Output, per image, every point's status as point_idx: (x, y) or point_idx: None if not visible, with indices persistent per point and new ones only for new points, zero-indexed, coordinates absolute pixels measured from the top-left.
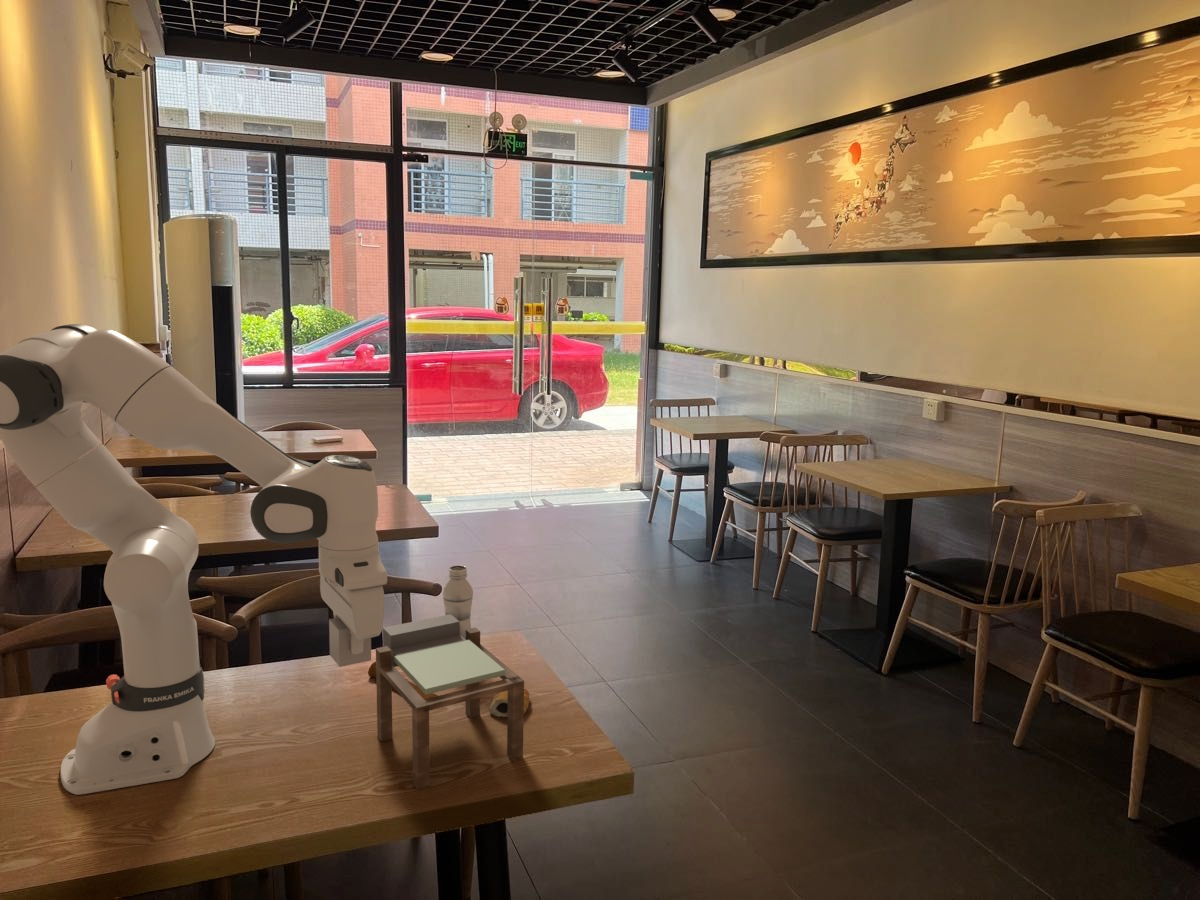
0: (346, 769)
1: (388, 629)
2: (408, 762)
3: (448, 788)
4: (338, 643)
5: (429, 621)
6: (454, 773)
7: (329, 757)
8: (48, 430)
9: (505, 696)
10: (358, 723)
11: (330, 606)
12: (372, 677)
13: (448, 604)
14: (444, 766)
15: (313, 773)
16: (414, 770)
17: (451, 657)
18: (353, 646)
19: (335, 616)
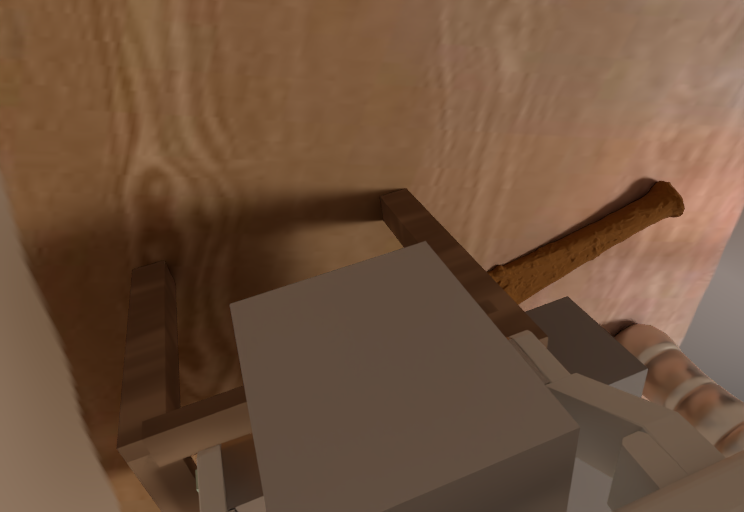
0: (275, 105)
1: (624, 385)
2: (265, 251)
3: (126, 329)
4: (268, 424)
5: (603, 477)
6: (191, 339)
7: (351, 63)
8: None
9: None
10: (482, 147)
11: (722, 499)
12: (653, 186)
13: (726, 421)
14: (226, 321)
15: (280, 9)
16: (152, 286)
17: None
18: (203, 505)
19: (634, 424)
